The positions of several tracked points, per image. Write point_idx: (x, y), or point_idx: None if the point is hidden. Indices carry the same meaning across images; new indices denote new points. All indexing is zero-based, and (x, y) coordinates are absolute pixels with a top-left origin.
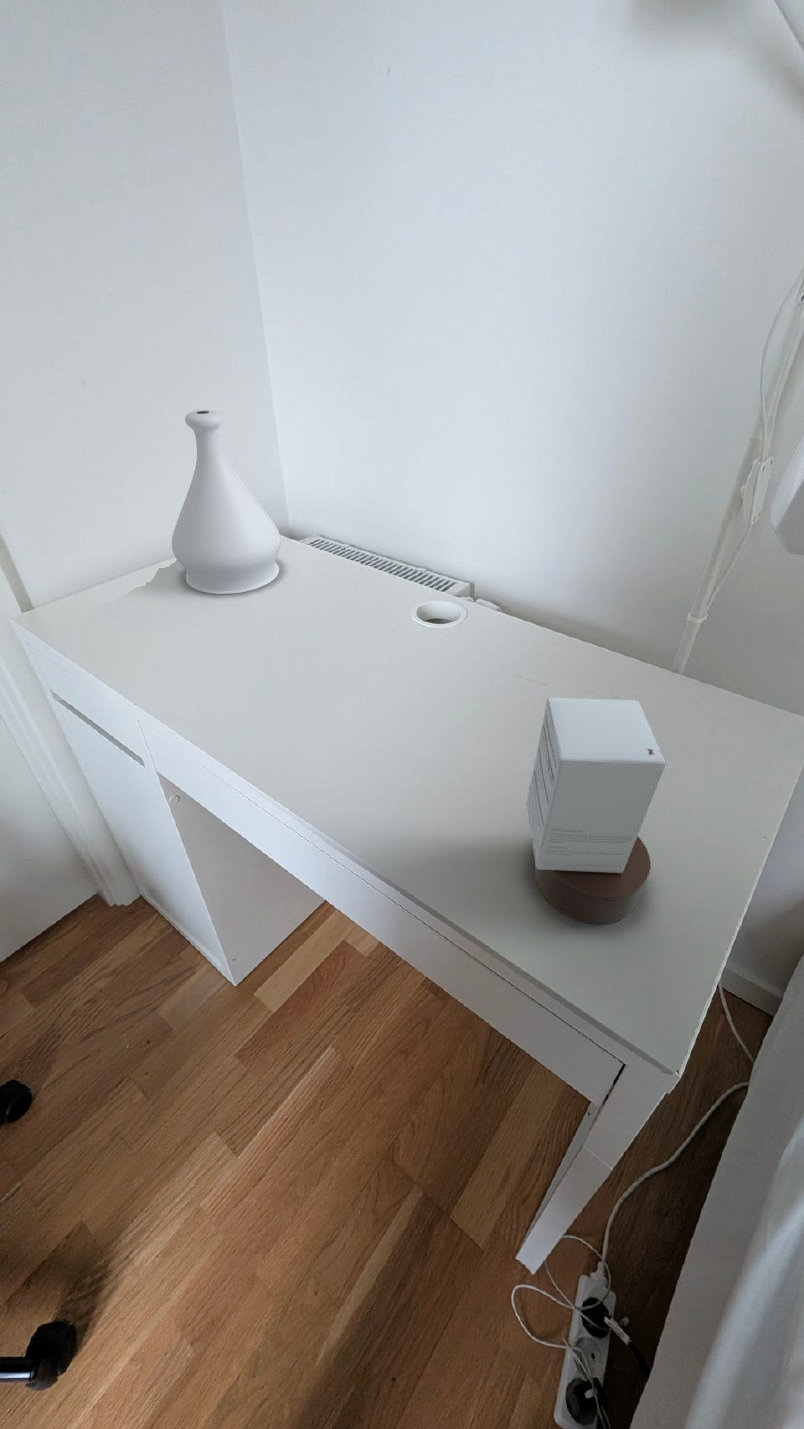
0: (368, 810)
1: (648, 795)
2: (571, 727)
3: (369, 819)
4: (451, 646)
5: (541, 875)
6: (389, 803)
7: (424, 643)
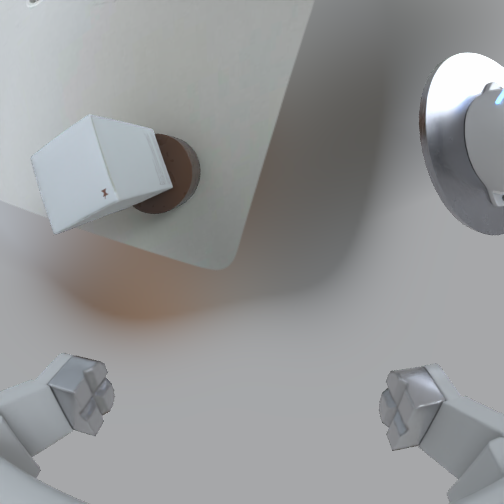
0: None
1: (133, 198)
2: (49, 191)
3: None
4: (50, 10)
5: None
6: None
7: (34, 21)
